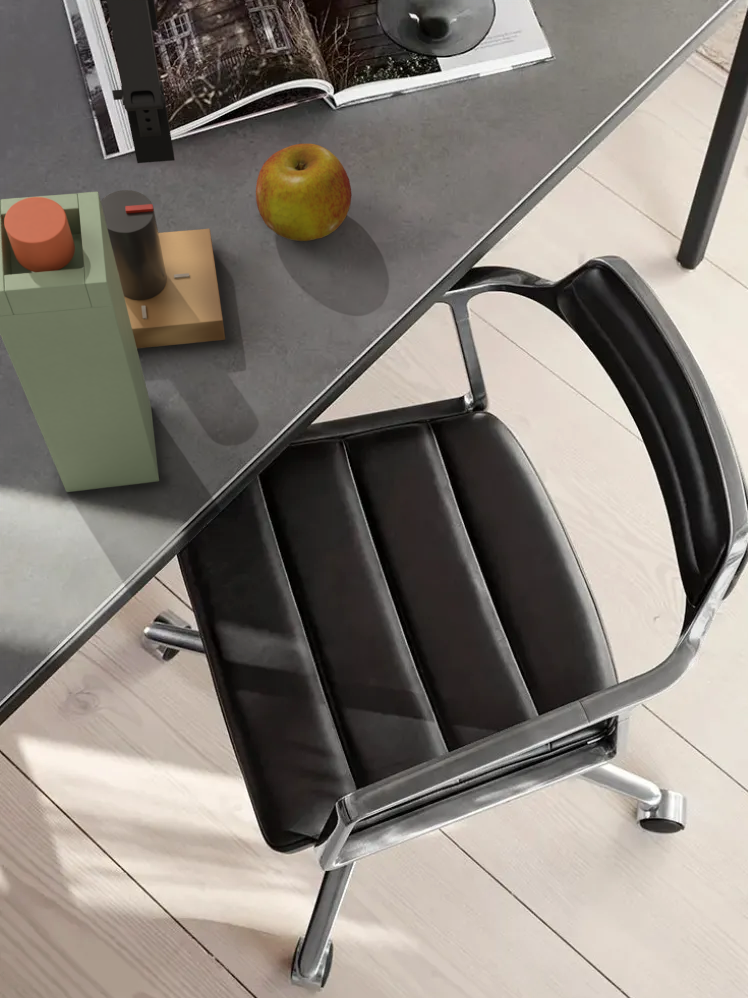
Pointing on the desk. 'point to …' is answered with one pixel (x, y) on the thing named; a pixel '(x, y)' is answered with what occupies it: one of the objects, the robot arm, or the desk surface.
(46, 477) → the desk surface
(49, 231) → the button
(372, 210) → the desk surface
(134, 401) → the button stand
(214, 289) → the dial panel
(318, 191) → the fruit
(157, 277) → the dial knob
